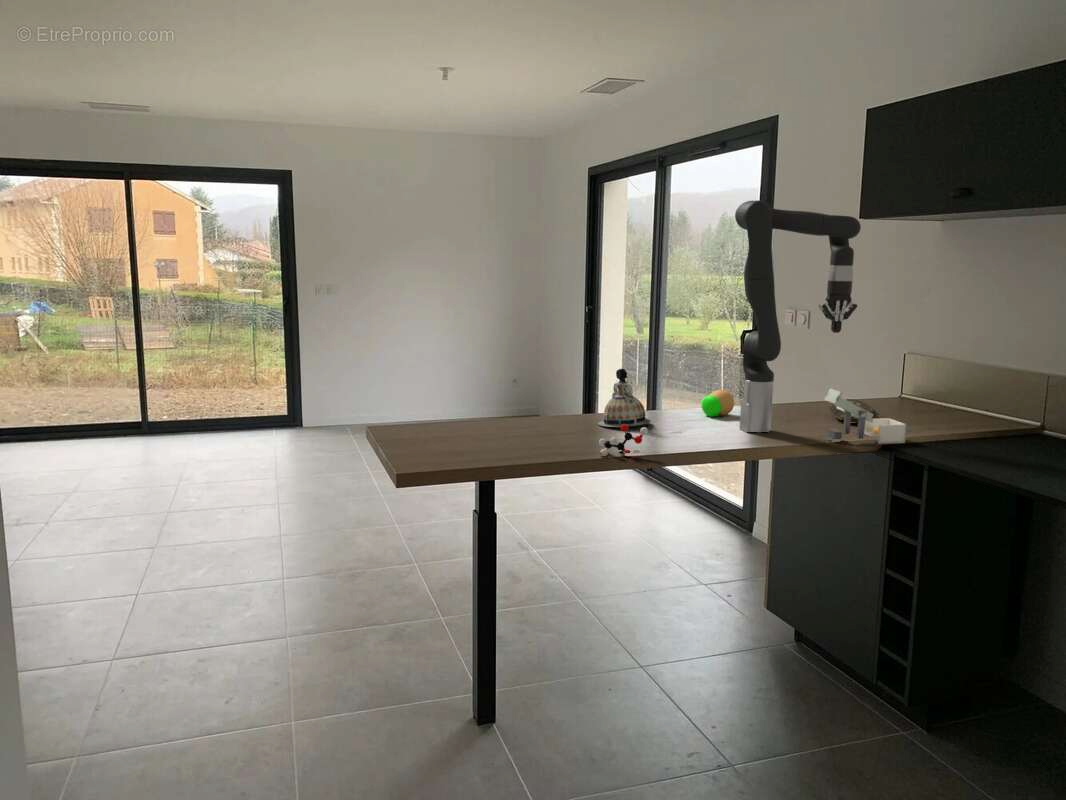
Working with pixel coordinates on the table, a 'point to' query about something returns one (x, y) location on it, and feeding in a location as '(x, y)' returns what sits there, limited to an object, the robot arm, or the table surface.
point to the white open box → (886, 430)
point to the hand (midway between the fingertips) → (835, 332)
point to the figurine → (623, 405)
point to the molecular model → (627, 436)
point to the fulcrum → (846, 428)
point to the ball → (875, 431)
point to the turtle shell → (840, 415)
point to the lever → (845, 404)
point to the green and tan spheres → (718, 403)
